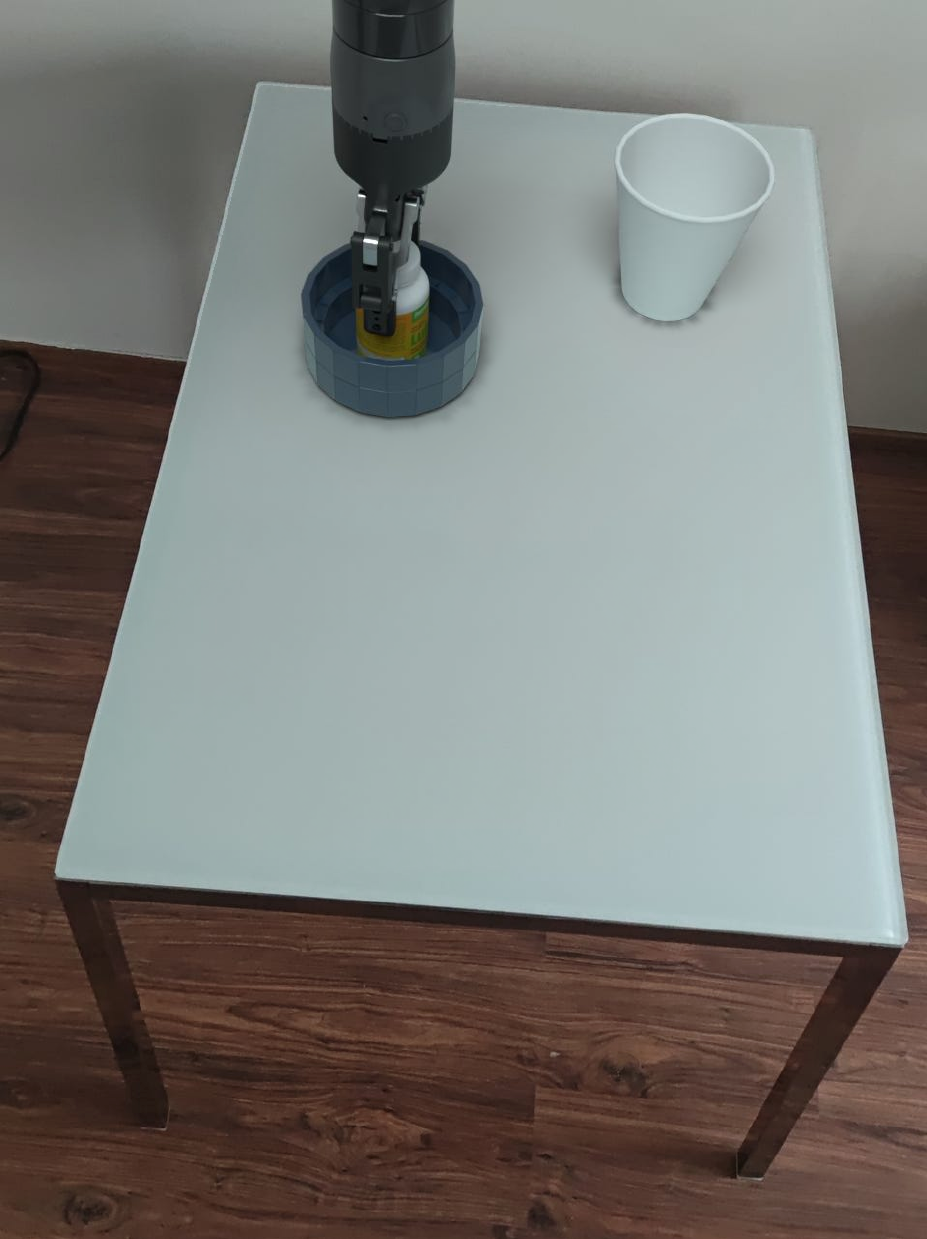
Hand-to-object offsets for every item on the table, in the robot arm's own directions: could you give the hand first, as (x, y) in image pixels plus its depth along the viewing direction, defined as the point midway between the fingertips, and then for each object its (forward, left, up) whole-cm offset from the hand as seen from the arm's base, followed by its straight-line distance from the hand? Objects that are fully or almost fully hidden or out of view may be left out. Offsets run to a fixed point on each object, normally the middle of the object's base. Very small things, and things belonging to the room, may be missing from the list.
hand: (392, 290), depth 88 cm
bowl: (0, 0, -7) cm, 7 cm away
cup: (+20, +12, -7) cm, 24 cm away
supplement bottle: (0, 0, -6) cm, 6 cm away
